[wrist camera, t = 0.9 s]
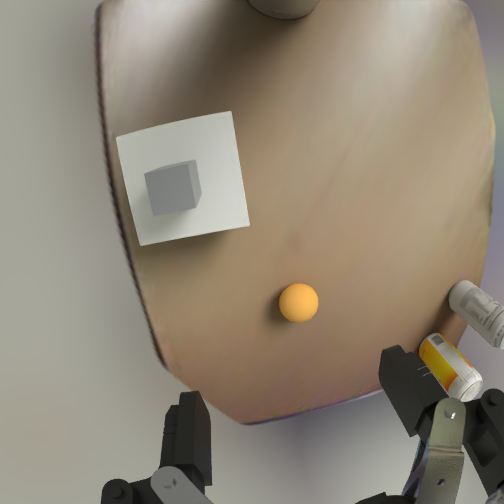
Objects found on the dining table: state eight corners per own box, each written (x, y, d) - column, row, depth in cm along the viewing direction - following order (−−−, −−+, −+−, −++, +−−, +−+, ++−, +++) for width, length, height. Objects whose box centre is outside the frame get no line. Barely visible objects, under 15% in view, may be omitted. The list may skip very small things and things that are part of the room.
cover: (141, 138, 30) (87, 136, 17) (228, 119, 31) (234, 100, 17) (158, 221, 34) (121, 273, 20) (242, 205, 34) (257, 248, 21)
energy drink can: (446, 313, 45) (495, 359, 31) (445, 288, 43) (500, 334, 29) (468, 297, 44) (518, 338, 30) (468, 272, 42) (523, 312, 28)
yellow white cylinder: (417, 361, 48) (456, 412, 34) (416, 341, 46) (459, 394, 32) (441, 345, 48) (481, 392, 34) (441, 325, 46) (487, 372, 32)
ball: (274, 280, 38) (281, 299, 34) (311, 273, 39) (322, 291, 34) (278, 312, 40) (285, 333, 35) (313, 305, 40) (323, 325, 36)
